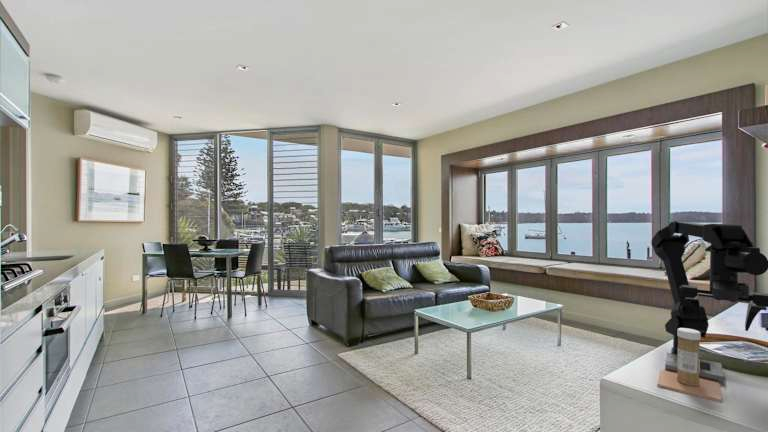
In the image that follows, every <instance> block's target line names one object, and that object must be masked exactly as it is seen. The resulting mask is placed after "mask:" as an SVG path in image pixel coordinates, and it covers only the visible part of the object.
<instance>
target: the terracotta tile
mask: <svg viewBox="0 0 768 432" xmlns="http://www.w3.org/2000/svg"><path fill="white" fill-rule="evenodd" d="M677 374H678V373H674V372H670V371H666V370H665V369H660V370H659V375H658V381H657V387H658V386H659V388H662V387H663V388H664V389H666V390H670V391H675V392H680V393H683V394H688V395H691V396H695V397H700V398H702V399H703V398H704V399H707V400H712V401H715V402H719V403H722V402H723V398H722V391H721V384H719V382H715V381H710V380H706V379H701V378H699V383H700V385H699V386H689V385H685V384H683V383H680V382H679V381H677V376H678V375H677Z"/></svg>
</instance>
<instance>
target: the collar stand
mask: <svg viewBox="0 0 768 432" xmlns="http://www.w3.org/2000/svg"><path fill="white" fill-rule="evenodd" d="M677 358H678V355H677V354H672V353H671V352H667V353H666V358H665V363H664V364H665V365H664V370H666V371H670V372H674V373H678V368H677ZM699 360H700V372H699V378H701V379H706V380H710V381H715V382H719V385H725V375H724V371H723V365H722V363H721V362H716V361H713V360H712V361H711V360H707V359H706V360H705V359H702V358H699Z"/></svg>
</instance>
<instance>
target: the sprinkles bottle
mask: <svg viewBox="0 0 768 432" xmlns="http://www.w3.org/2000/svg"><path fill="white" fill-rule="evenodd" d="M677 336H678V358H677V368H678V374H677V375H678V376H677V381H679V382H680V383H683V384H685V385H689V386H699V385H700V383H699V372H700V360H699V359H700V353H701V352H700V346H701V345H700V342H701V339H702V337H701V334H700V332H699V331H697V330H694V329H689V328H678V329H677Z"/></svg>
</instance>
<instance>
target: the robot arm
mask: <svg viewBox="0 0 768 432" xmlns="http://www.w3.org/2000/svg"><path fill="white" fill-rule="evenodd" d="M679 234H680V235H679ZM689 236H690V237H696V238H700V239H702V240H703V241H704V243H705V242H706V243H708V244H710V245H709V246H707V247H706V248H705V249H704V250H705V252H709V253H710V255H709V257H710V259H709V263H710V264H709V290H708V289H700V288H698V286H697V285H690V283H689V279H688V277H687V272H686V270H685V266H684V262H683V257H684V254H685V252H686V247H685V246H686V245H687V244H688V243H689V242H690V237H689ZM650 243H651V246H652V248H653V251H654V253H655V255H656V256H657V257H658V258H659V259H660V260H661V261H662V262H663V266H664V270H665V273H666V277H667V280H668V285H669V288H670V291H671V295H672V298H673V306H672V308H671V311H670V316H671V318H670V319H669V320H667V322H666V323H665V324H664V328H665V332H667V333H669V334H670V335H672V337H673V338H672V347H671V350H670V353H672V354H677V355H678V336H677V329H678V328H689V329H694V330H697V331H699V332H700V334H701V338H705V337H706V335H707V331H708V328H709V325H710V324H709V318H708V316H707V313H706V309H705V308H704V306H700V305H701V304H700V300H699V297H706V298H712V299H713V300H716V301H728V302H731V303H737V302H738V301H741V302H748V303H747V310H746V315H745V321H744V322H745V323H744V330H745V332H748V331H749V329H750V327H751V325H752V324H753V322H754V320H755V318H756V317H757V315H758V314H759V313H760V312H761V311H767V309H768V293H765V292H756V291H755V292H753V291H750V285H749V283H744V282H739V273H741V274H746V275H751V276H760V275H763V274H765V273H766V272H767V271H768V258H767V256H766V255H764V254H763V253H762V252H761V249H760V247H755V246H754V243H753V242H752V241H751V239H750V237H749V236H748V234H747V233H746V231H745V229H743V226H742V225H740V224H738V223H706V224H705V223H697V222H691V221H689V220H673V221H671V222H669V224H668V225H666V226H665V227H663V228H661V229H660V230H658V231H657V232H656V233H655V235H654V236H653V237H652V239H651V242H650ZM705 339H706V338H705Z"/></svg>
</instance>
